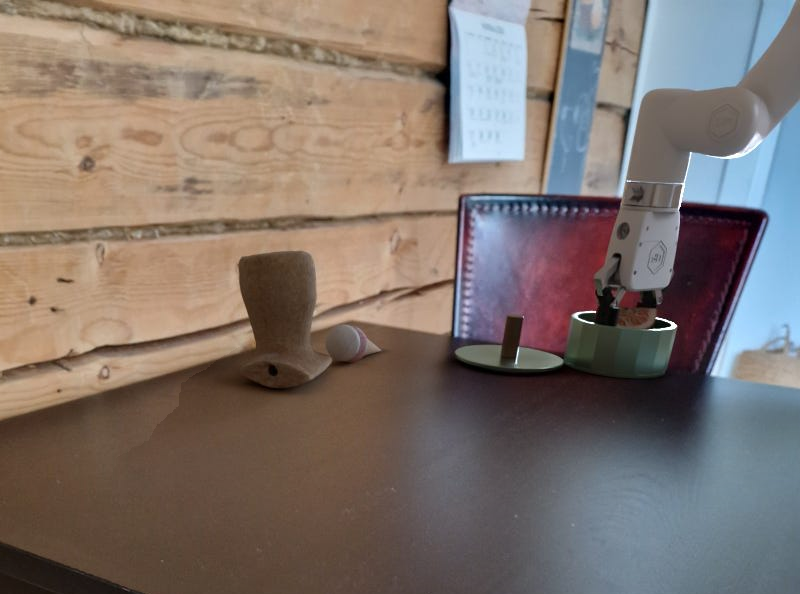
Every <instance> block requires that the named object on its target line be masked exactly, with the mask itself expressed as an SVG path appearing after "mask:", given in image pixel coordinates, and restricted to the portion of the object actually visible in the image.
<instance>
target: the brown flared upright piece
mask: <svg viewBox="0 0 800 594" xmlns="http://www.w3.org/2000/svg"><path fill="white" fill-rule="evenodd" d="M237 268H238V284H239V290H240V294H241V298H242V301H243V304H244V307H245V310H246V313H247V317H248V321H249V324H250V327H251V330H252V333H253V338H254V342H255V352H254V353H253V355H252V356H251V357H250V358H249V359H248V360H247V361H246V363H245V364H244V365H242V366H241V367H240V368H239V371H240V374H242V375H243V376H245V377H246V378H248V379H250V380H252V381H254V382H255V383H257V384H259V385H262V386H264V387H267V388H271V389H288V388H294V387H297V386H301V385H304V384H306V383H308V382H311V381H312V380H313V379H315V378H316V377H318V376H319V375H321V374H323V372H325V371H326V369H327V368H328V367H329V366H330V365H331V364H332V362H333V360H332V359H333V358H332V357H331V356H330V355H329V354H326V353H322V352H318V351H316V350H314V349H313V348H312V346H311V333H312V325H313V317H314V313H315V310H316V303H317V297H318V296H317V295H318V294H317V293H318V291H317V273H316V265H315V262H314V258H313V256H312V255H311V253H309V252H307V251H304V250H282V251H281V250H279V251H272V252H264V253H256V254H251V255H244V256H241V257H240V258H239V260H238V266H237Z"/></svg>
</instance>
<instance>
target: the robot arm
mask: <svg viewBox="0 0 800 594" xmlns="http://www.w3.org/2000/svg"><path fill="white" fill-rule="evenodd" d="M798 103H800V0H795V1H794V3H793V5H792V8H791V10H790V11H789V14H788V16H787V18H786V19H785V22H784V23H783V25H782V27H781V29H780V30H779V31H778V33H777V35H776V36H775V37H774V39H773V40H772V41H771V43H770V44H769V46H768V47H767V49H766V50H765V51H764V52H763V54H762V55H761V56H760V57H759V58H758V60H757V61H756V62H755V63H754V65H753V66H752V67H751V68H750V69H749V70H748V72H746V73H745V75H744V76H743V77H742V79H740V81H739V82H738V83H737V84H736V85H735V86H725V87H718V88H710V89H702V90H700V89H699V90H694V89H691V88H675V87H674V88H672V87H671V88H669V87H668V88H664V87H663V88H654V89H651V90H648V91H647V92H646V93H645V94H644V96H643V97H642V98H641V101H640V105H639V108H638V114H637V119H636V125H635V130H634V135H633V141H632V145H631V146H632V147H631V150H630V155H629V160H628V165H627V171H626V177H625V182H624V186H623V191H622V197H621V202H620V206H619V211H618V214H617V216H616V219H615V223H614V225H613V228H612V232H611V235H610V240H609V243H608V248H607V251H606V255H605V261H604V264H603V266H602V267H601V268H600V269H598V270H597V272H596V273H594V275H593V282H594V288H595V290H594V294H595V297H596V305H597V308H598V312H597V317H596V322H595V323H596V324H601V325H607V326H614V327H617V322H618V317H619V312H620V309H619V308H617V306H619V304H620V303H621V301H622V300H623V298H624V296H625V294H626V293H627V291H628V292H632V293H635V292H639V296H640V297H639V298H640V301H637V302H636V306H635V308H656V309H657V310H658V309H659V305H660V304H661V303H662V301H663V296H664V294H665V293H666V291H667V290H668V288H669V287H668V285H669V284H670V282H671V281H672V280H673V279H672V278H673V277H674V274H675V270H674V265H675V258H676V252H677V246H678V239H679V233H680V232H679V231H680V222H681V221H680V219H681V218H680V215H681V214H680V213H681V212H680V211H679V210H680V207H681V203H682V197H683V193H684V188H685V183H686V178H687V174H688V170H689V166H690V161H691V157H692V153H693V154H699V155H702V156H707V157H708V156H709V157H711V158H712V157H713V158H719V159H735V158H740V157H743V156H745V155H747V154H749V153H750V152H751V151H753V150H754V149H755V148H757V147H758V146H759V145H760V144H761V143H762V142H763V141H764V140H765V139H766V138H767V137H768V136H769V134H771V132H773V130H774V129H775V128H776V127H778V125H779V124H780V123H781V122H782V121H783V119H785V117H786V116H787V115H788V114H789V113H790V112H791V111H792V110H793V109H794V108H795V107H796V106H797V104H798ZM613 292H615V293H613ZM598 306H599V307H598ZM654 323H655V322H654ZM654 323H653V325H652V326H651V327H650V328H649V329H653V327H654Z"/></svg>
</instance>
